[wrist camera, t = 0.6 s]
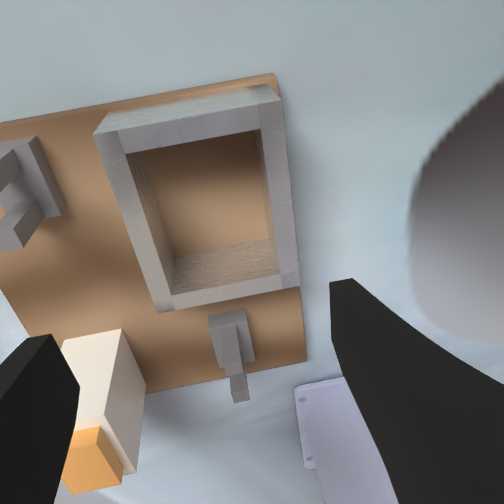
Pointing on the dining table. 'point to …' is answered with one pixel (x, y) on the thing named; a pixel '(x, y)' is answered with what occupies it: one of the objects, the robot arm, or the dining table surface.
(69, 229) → the board
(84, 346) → the connector
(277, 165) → the end holder
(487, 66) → the dining table surface
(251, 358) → the clip
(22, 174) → the clip
